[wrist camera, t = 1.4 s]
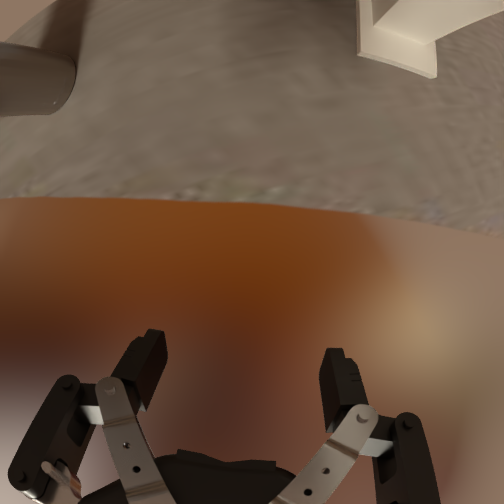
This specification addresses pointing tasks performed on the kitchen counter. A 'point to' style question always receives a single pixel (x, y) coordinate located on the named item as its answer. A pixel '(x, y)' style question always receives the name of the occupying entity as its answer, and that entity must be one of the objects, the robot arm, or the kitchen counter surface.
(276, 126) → the kitchen counter surface
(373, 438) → the robot arm
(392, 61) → the stand
